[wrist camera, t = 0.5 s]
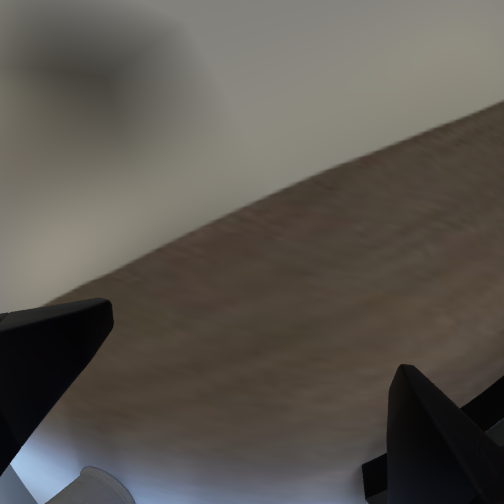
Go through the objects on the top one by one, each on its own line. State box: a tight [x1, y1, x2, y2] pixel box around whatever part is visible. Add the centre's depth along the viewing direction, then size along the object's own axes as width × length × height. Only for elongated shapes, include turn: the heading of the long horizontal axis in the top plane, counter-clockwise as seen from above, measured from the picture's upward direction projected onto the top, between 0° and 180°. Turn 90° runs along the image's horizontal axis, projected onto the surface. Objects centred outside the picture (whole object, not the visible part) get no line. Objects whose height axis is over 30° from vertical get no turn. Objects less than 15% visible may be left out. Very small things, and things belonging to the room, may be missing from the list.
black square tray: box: [362, 376, 504, 504], centre depth 18 cm, size 16×15×5 cm
